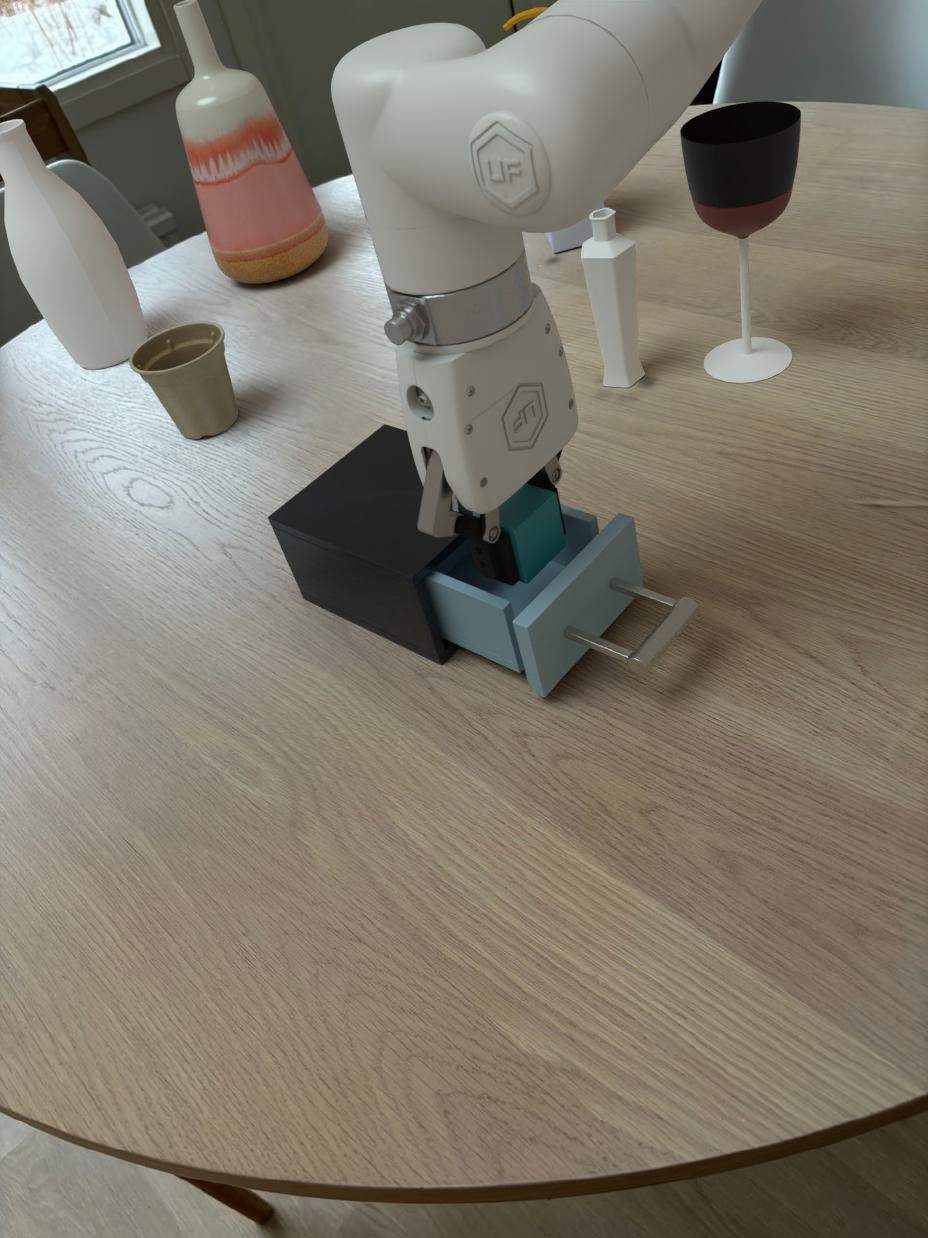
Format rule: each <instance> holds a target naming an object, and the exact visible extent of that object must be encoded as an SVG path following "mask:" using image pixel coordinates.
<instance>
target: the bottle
mask: <svg viewBox="0 0 928 1238" xmlns="http://www.w3.org/2000/svg"><path fill="white" fill-rule="evenodd" d="M26 125H27V124H26V123H25V121H24V119H21V118H18V119H17V118H15V119H10V120H6V121H3V122H0V176H1V178H2V180H3V182H4V213H3V214H4V215H3V216H4V219H3V220H4V221H3V222H4V227H5V232H6V236H7V241H8V246H9V251H10V254H11V257H12V260H13V263H14V265H15V267H16V270H17V273H18V275H19V278H20V280H21V282H22V284H23V286H24V288H25V289H26V292H28V294H29V296H30V297H31V299H32V301H33V302H34V304H35V306H36V307H37V310H38V311H39V313H40V314H41V316H42V317H43V319H44V321H45V322H46V324H47V326H48V327H49V329H50V330H51V332H52V334H54V336H55V337H56V339H57V340H58V341H59V342H60V344H61V345H62V347H63V348H64V349H65V351H66V352H67V353H68V355H69V356H70V357H71V359H72V360H73V361H74V362H75V364H76V365H78V366H80V367H83V368H84V369H87V370H100V369H107V368H109V367H114V366H117V365H119V364H121V363H124V362H125V361H128V360H129V358H130V356H131V354H132V353H133V352H134V350H135V349H136V348H137V347H138V346H139V345H141V344H142V343H143V342H144V341H146V340H147V339H149V329H148V326H147V322H146V320H145V317H144V313H143V309H142V307H141V303H140V300H139V297H138V293H137V290H136V287H135V285H134V283H133V280H132V277H131V275H130V272H129V270H128V267H127V265H126V263H125V261H124V259H123V256H122V253H121V250H120V249H119V246H118V244H117V242H116V241H115V239H114V238H113V236H112V234H111V233H110V231H109V229H108V228H107V227H106V225H105V224H104V222H103V220H102V219H101V217H100V216H99V215H98V214H97V213H96V212H95V210H94V209H93V208H92V207H91V206H90V204H88V202H87V201H86V200H85V199H84V198H83V196H82V195H81V194H80V193H79V192H78V191H77V190H75V189H74V188H73V187H72V186H70V185H69V184H68V183H67V182H65V181H64V180H63V179H62V178H61V177H59V175H57V174H56V173H54V172H53V171H52V170H50V168H48V167H47V165H46V163H45V161H44V160H43V158H42V156H41V154H40V152H39V151H38V149H37V147H36V145H35V144H34V142H33V140H32V138H31V136H30V134H29V132H28V130H27V127H26Z"/></svg>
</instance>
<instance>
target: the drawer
mask: <svg viewBox="0 0 928 1238" xmlns="http://www.w3.org/2000/svg"><path fill="white" fill-rule="evenodd" d="M560 505H561V510H562V515H563V520H564V525H565V530H566V534H565V535H564V537H565V543H566V546H565V547H564V548H563V549H562V550H561V551H560V552H559V553H558V554H557V555H556V556H555V557H554V558H553V559H552V560H551V561H550V562H549V563H548V564H547V565H546V566H545V567H544V568H543V569H542V570H541V571H540V572H539V573H538V574H537V575H536V576H535V577H534V578H533V579H532V580H531V581H530V582H529V583H528V584H525V583H523V582H520V581H518V582H517V583H516V584H515V585H514V586H510V585H508V584H505V583H502V582H500V581H497V580H495V579H490V578H487V577H485V576H483V575H481V574H480V573H479V572H478V571H477V569H476V567H475V563H474V560H473V556H472V553H471V549H470V545H469V542H468V539H466V540H465V541H464V542H463V543H462V544H461V545H460V546H459V547H458V548H457V549H456V550H455V551H453V552H452V553H451V554H450V555H449V556H448V557H447V558H446V559H445V560H444V561H443V562H442V563H441V564H439V565H438V566H437V567H436V568H435V569H434V570H433V571H432V572H431V573H430V574H429V575H428V576H427V577H425V578H424V579H423V582H424V585H425V588H426V591H427V594H428V598H429V601H430V604H431V607H432V610H433V613H434V616H435V619H436V622H437V625H438V628H439V631H440V634H441V637H442V638H444V639H446V640H449V641H451V642H453V643H455V644H457V645H459V646H460V647H462V648H464V649H466V650H469V651H470V652H472V653H474V654H477V655H480V656H481V657H484V658H486V659H488V660H490V661H492V662H494V663H497V664H499V665H501V666H503V667H505V668H507V669H509V670H512V671H514V672H516V673H518V674H521V673H522V672H523V670H524V671H525V676H526V680H527V683H528V687H529V691H530V692H532V693H534V694H536V695H538V696H541V697H543V698H546V697H547V696H548V694H549V693H550V692H551V691H552V690H553V689H554V688H555V687H556V686H557V685H558V683H559V682H560V681H561V680H562V679H563V678H564V677H565V675H567V673H568V672H569V671H570V670H571V669H572V668H573V667H574V666H575V665H576V664H577V662H578V661H580V659H581V658H582V657H583V656H584V655H585V654H586V652H587V651H589V649H592V650H594V651H597V652H598V653H601V654H604V655H606V656H608V657H610V658H613V659H616V660H618V661H620V662H623V663H626V665H627V667H628V669H630V670H631V672H632V673H634V674H635V675H638V676H643V677H644V676H646V675H647V674H648V673H649V672H650V670H652V668H653V667H654V666H655V664H657V662H658V661H659V660H660V659H661V658H662V656H663V655H664V654H665V653H666V652H667V651H668V649H669V648H670V647H671V646H672V645H673V644H674V642H675V641H676V640H677V639H678V638H679V637H680V635H681V634H682V633H683V632H684V630H685V629H686V628H687V627H688V626H689V624H690V623H692V621H693V620H694V619H695V618H696V616H697V615H698V614H699V613H700V606H699V604H698V602H697V601H695V599H693V598H691V597H689V596H683V597H681V598H680V599H678V600H677V599H675V598H672V597H670V596H667V595H665V594H661V593H658V592H656V591H653V590H650V589H648V588H645V587H644V582H643V573H642V568H641V559H640V552H639V545H638V544H639V543H638V535H637V529H636V522H635V517H634V516H631V515H628V514H626V513H622V512H618V513H617V514H616V515H615V516H614V517H613V518H612V519H611V520H610V521H609V523H607V524H606V525H605V526H604V527H603V528H602V529H601V530H600V529H599V523H598V517H597V515H596V514H593V513H591V512H586V511H583V510H580V509H577V508H574V507H571V506H569V505H564V504H561V503H560ZM635 599H636V600H640V601H642V602H644V603H648V604H651V605H653V606H656V607H658V608H660V609H664V610H666V611H668V612H667V613H666V615H665V616H664V617H662V619H661V620H660V622H659V623H658V624H657V625H656V626H655V627H654V628H653V630H651V632H650V633H649V634H648V635H647V636H646V637H645V639H643V641H642V642H641V643H640V644H639V646H637V648H636V649H635V650H634V651H633V650H632V649H629V648H626V647H623V646H621V645H619V644H616V643H615V642H614V643H613V642H611V641H609V640H607V639H604V638H601V636H602V635H603V634H604V633H605V632H606V631H607V629H608V628H609V627H610V626H611V625H612V624H613V623H614V621H615V620H617V618H618V617H619V616H620V615H621V614H622V613H623V612H624V611H625V609H627V608H628V606H629V605H630V604H631V603H632V602H633V601H634V600H635Z"/></svg>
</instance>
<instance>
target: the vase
mask: <svg viewBox="0 0 928 1238" xmlns="http://www.w3.org/2000/svg"><path fill="white" fill-rule="evenodd" d="M173 10H174V13H175V16H176V19H177V22H178V24H179V27H180V30H181V33H182V36H183V39H184V41H185V44H186V47H187V50H188V53H189V56H190V59H191V61H192V65H193V68H194V70H193V71H194V76H193V78H192V80H191V81H190V82H188V83H187V84H186V86H184V87H183V88H182V90H181V91H180V92H179V93H178V95H177V97H176V100H175V114H176V119H177V124H178V126H179V131H180V135H181V139H182V143H183V146H184V150H185V153H186V157H187V161H188V166H189V169H190V173H191V177H192V182H193V186H194V188H195V189H194V190H195V193H196V196H197V197H196V198H197V201H198V204H199V208H200V212H201V216H202V220H203V224H204V228H205V233H206V236H207V239H208V243H209V246H210V249H211V252H212V254H213V258H214V261H215V263H216V265H217V267H218V268H219V270H220V272H222V273H223V274H224V275H225V276H226V277H227V278H229V279H230V280H233V281H236V282H239V283H244V284H252V285H255V284H257V285H258V284H267V283H273V282H278V281H281V280H285V279H287V278H288V279H289V278H290V277H293V276H295V275H297V274H299V273H301V272H302V271H305V270H306V269H307V268H309V267H310V266H312V265H313V264H314V263H315V262H316V261H317V260H318V259H319V258H320V257H321V256H322V254H323V253H324V251H325V250H326V248H327V245H328V242H329V238H330V237H329V235H330V234H329V226H328V223H327V220H326V217H325V215H324V212H323V209H322V207H321V205H320V203H319V201H318V198H317V196H316V194H315V192H314V190H313V187H312V186H311V184H310V182H309V179H308V177H307V175H306V173H305V170H304V168H303V167H302V165H301V162H300V161H299V158H298V156H297V154H296V152H295V149H294V148H293V146H292V144H291V141H290V139H289V137H288V136H287V134H286V130H285V129H284V127H283V125H282V122H281V121H280V118H279V117H278V114H277V112H276V110H275V108H274V106H273V104H272V101H271V100H270V97H269V95H268V93H267V91H266V90H265V87H264V86H263V84H262V83H261V81H260V80H259V78H258V77H257V76H255V75H254V74H253V73H251V72H249V71H246V70H241V69H236V68H230V67H226V66H225V64H223V63H222V61H221V59H220V57H219V55H218V52H217V48H216V47H215V44H214V41H213V37H212V36H211V32H210V31H209V27H208V25H207V23H206V20H205V17H204V14H203V11H202V10H201V6H200V4H199V1H198V0H181V1H180V2H177V3H176V4H175V3H174V5H173Z"/></svg>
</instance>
